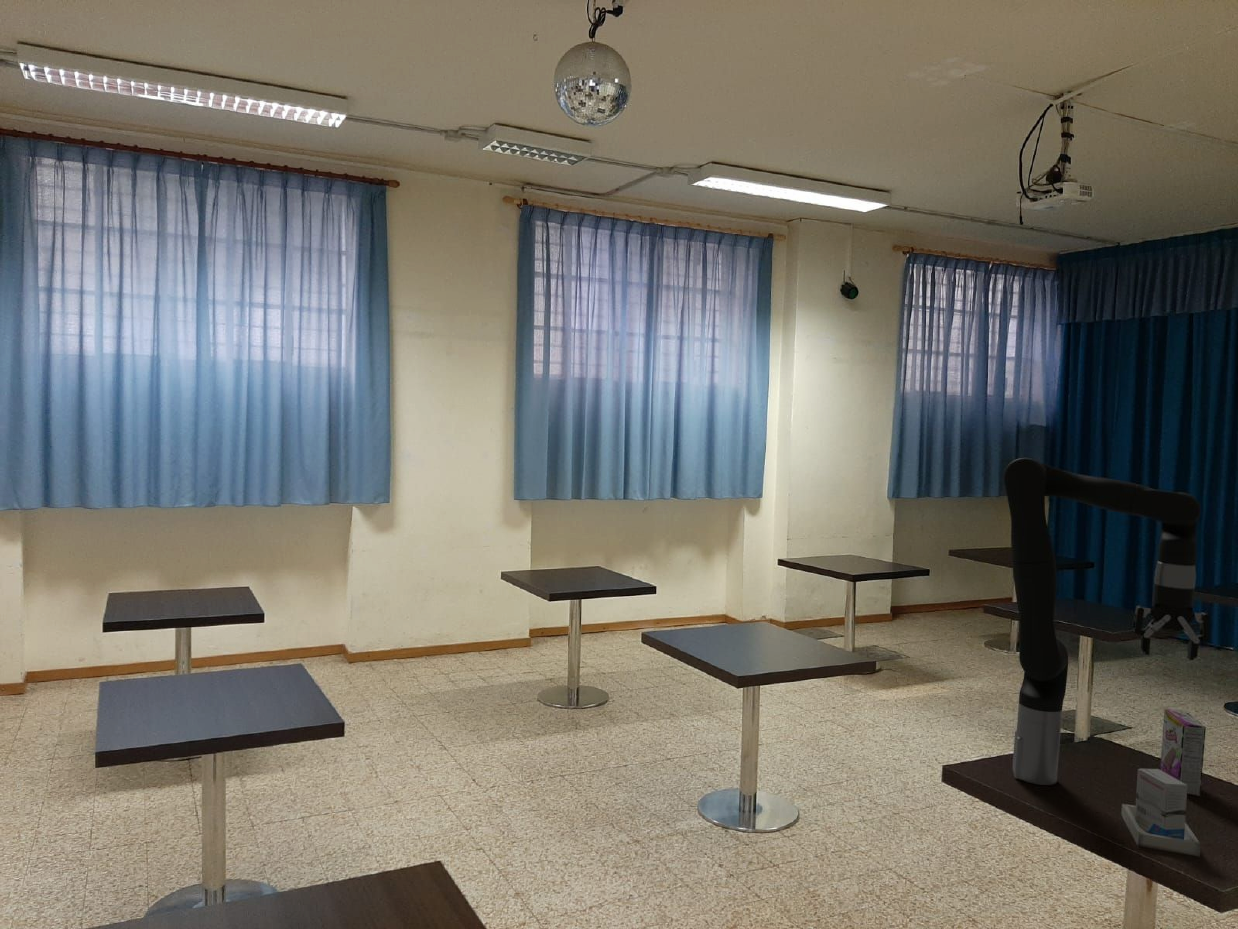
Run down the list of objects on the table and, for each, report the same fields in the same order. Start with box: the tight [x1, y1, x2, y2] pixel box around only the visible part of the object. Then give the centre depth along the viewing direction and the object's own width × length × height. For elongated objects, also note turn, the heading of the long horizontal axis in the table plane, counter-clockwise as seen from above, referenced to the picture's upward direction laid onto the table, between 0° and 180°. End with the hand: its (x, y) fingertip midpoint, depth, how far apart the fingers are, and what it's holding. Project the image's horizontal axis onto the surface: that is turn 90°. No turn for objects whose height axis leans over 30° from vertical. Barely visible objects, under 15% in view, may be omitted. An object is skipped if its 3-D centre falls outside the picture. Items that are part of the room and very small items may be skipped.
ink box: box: [1135, 768, 1188, 840], centre depth 179 cm, size 9×5×12 cm, turn 7°
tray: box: [1120, 803, 1202, 857], centre depth 180 cm, size 11×15×2 cm
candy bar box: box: [1159, 708, 1207, 797], centre depth 205 cm, size 11×5×16 cm, turn 168°
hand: (1168, 656), depth 193 cm, fingers open, 8 cm apart
